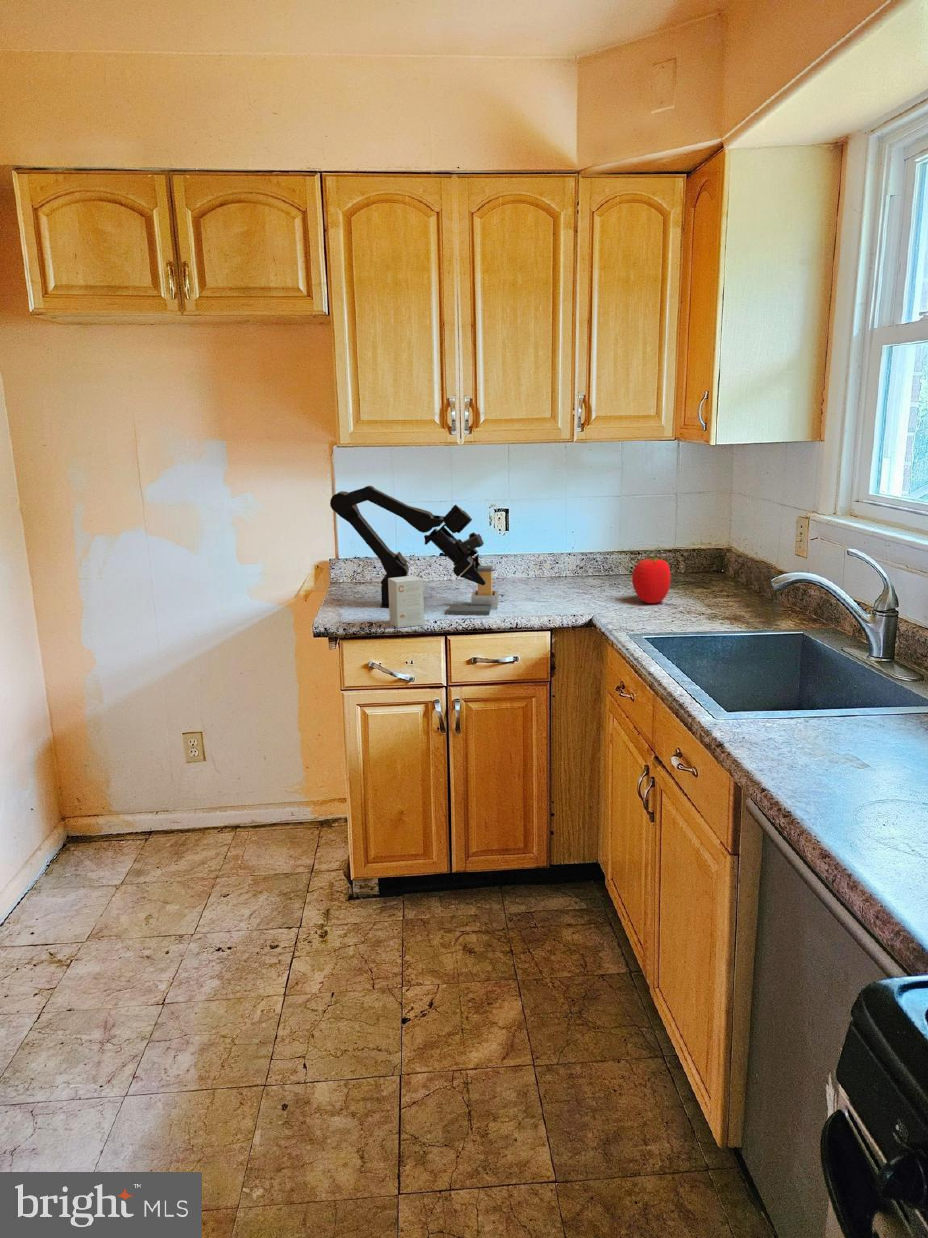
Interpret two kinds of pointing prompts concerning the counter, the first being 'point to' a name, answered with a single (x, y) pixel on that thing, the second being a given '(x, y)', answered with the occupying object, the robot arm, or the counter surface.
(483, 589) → the grey capped orange post
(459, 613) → the rubber mat
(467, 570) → the robot arm
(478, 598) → the socket
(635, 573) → the tomato
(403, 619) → the small box
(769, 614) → the counter surface
